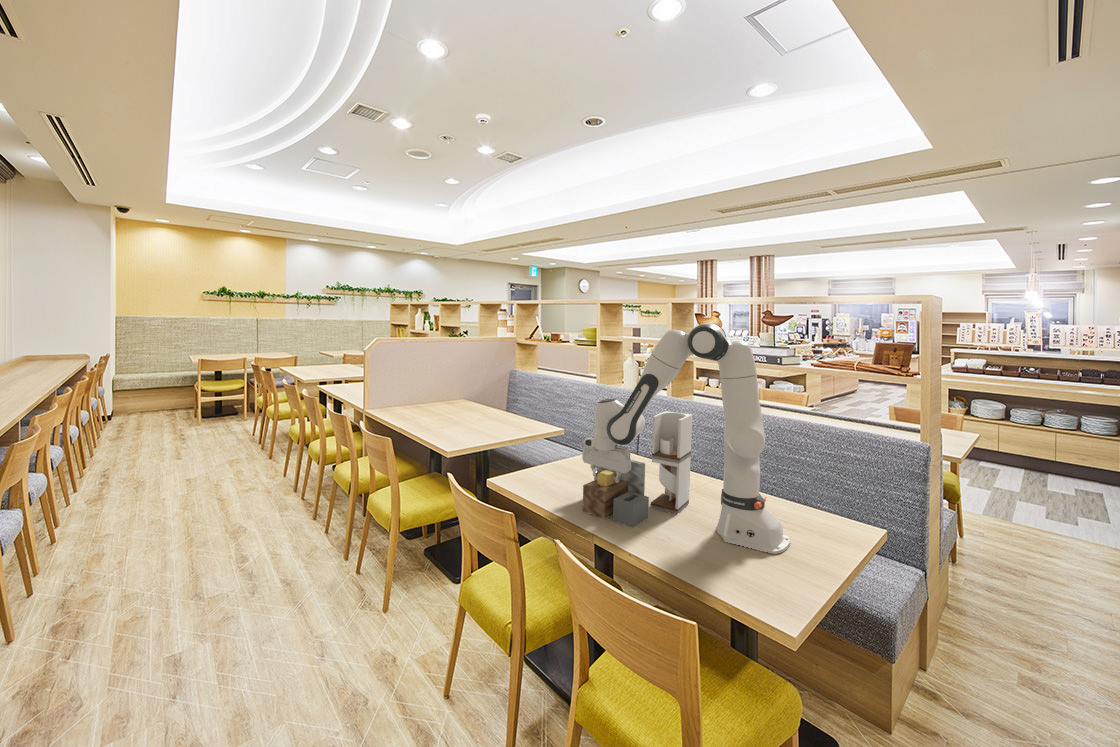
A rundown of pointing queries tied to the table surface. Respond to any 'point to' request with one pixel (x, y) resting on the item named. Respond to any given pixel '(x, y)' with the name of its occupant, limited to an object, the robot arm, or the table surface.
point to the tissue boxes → (612, 490)
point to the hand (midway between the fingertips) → (605, 479)
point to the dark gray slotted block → (630, 509)
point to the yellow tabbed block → (605, 478)
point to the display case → (672, 459)
